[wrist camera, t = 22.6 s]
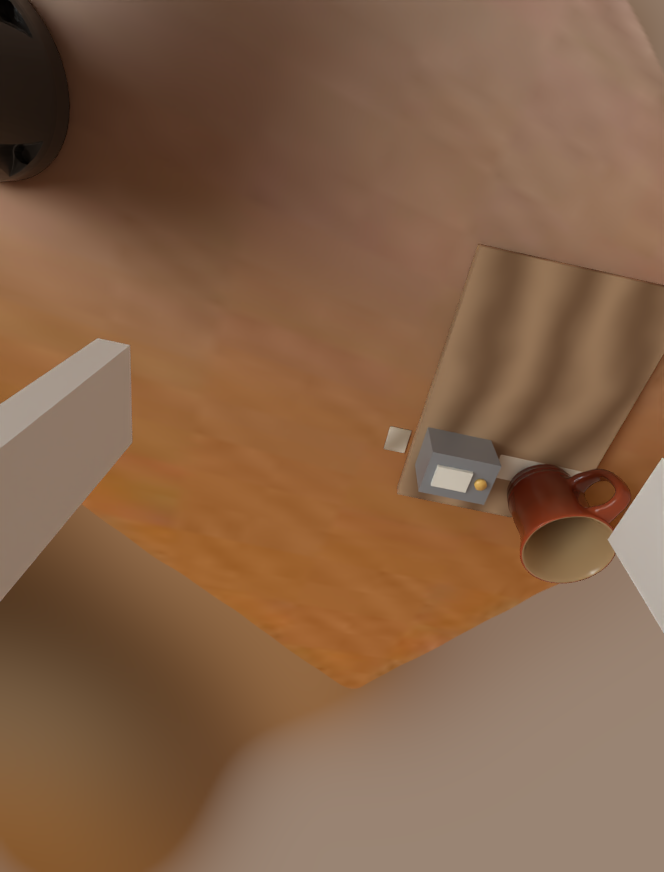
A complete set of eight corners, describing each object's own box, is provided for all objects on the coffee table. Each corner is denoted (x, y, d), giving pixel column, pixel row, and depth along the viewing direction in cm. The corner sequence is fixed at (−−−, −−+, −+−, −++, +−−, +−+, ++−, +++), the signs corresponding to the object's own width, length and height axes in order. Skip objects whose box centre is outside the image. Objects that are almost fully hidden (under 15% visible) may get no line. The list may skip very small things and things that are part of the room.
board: (373, 483, 58) (373, 489, 56) (447, 236, 43) (448, 238, 42) (558, 521, 58) (561, 528, 57) (690, 291, 44) (698, 294, 43)
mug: (534, 528, 58) (563, 596, 49) (480, 491, 55) (500, 555, 47) (620, 462, 52) (670, 525, 43) (564, 418, 50) (604, 475, 41)
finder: (414, 464, 54) (418, 493, 50) (427, 427, 52) (433, 454, 47) (475, 477, 55) (484, 507, 50) (491, 440, 52) (502, 468, 47)
